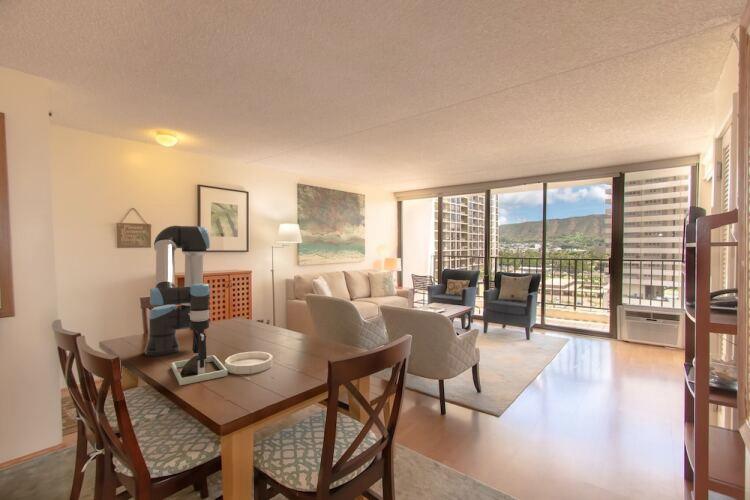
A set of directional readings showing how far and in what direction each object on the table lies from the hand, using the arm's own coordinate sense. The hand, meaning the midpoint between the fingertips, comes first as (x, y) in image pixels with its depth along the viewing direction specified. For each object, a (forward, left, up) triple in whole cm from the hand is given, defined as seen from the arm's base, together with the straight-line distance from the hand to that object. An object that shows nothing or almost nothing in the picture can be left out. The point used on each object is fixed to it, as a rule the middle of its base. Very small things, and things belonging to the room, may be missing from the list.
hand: (198, 371), depth 148 cm
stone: (-1, -1, -1) cm, 2 cm away
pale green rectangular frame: (0, 0, 0) cm, 0 cm away
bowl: (+5, +20, 0) cm, 21 cm away
